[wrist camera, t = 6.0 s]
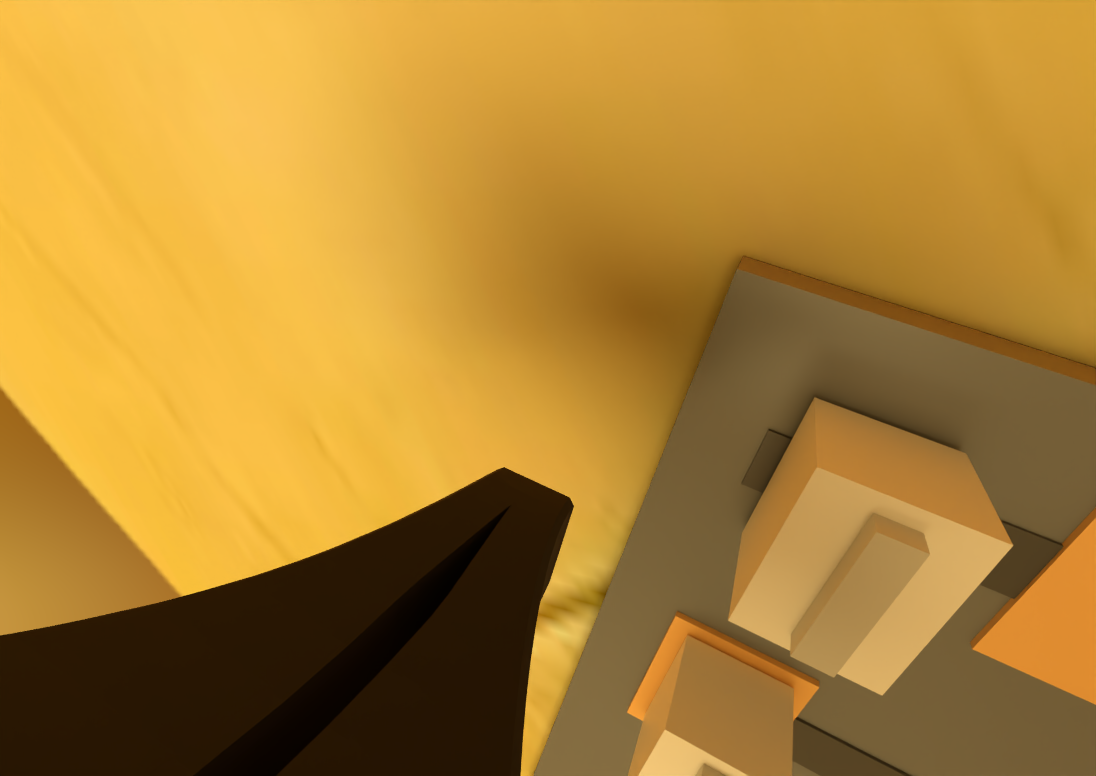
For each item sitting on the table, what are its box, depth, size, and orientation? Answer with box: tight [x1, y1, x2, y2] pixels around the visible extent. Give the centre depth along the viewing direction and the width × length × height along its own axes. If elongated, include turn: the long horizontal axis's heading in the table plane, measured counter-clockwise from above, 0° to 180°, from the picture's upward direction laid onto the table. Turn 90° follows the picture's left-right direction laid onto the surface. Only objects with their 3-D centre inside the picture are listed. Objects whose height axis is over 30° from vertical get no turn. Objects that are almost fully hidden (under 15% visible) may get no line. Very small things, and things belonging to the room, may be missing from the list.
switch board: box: [533, 256, 1096, 776], centre depth 16 cm, size 14×24×2 cm, turn 168°
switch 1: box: [628, 635, 794, 776], centre depth 15 cm, size 3×4×4 cm
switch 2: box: [728, 397, 1013, 695], centre depth 11 cm, size 3×4×4 cm
